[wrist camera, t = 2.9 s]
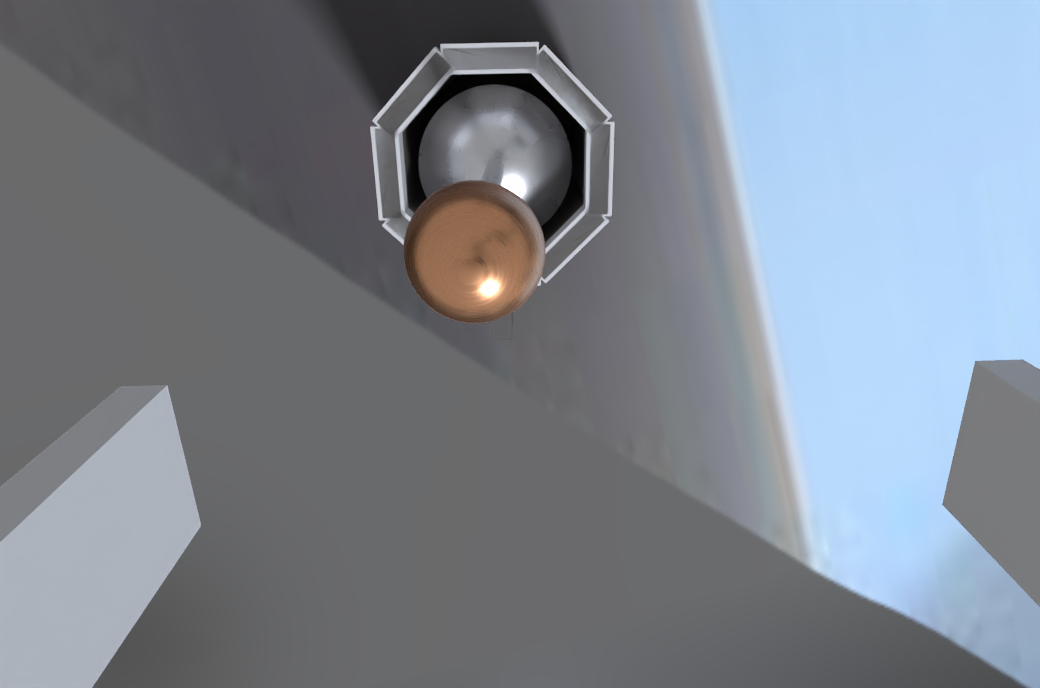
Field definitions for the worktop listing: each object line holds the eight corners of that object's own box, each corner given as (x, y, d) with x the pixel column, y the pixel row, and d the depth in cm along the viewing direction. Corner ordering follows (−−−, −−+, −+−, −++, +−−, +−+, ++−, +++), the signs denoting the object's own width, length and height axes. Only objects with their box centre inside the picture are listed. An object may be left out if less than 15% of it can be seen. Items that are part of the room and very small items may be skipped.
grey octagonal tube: (405, 47, 48) (362, 45, 35) (590, 43, 47) (616, 40, 34) (423, 279, 54) (391, 351, 41) (586, 276, 54) (607, 347, 41)
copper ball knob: (414, 85, 38) (301, 120, 18) (571, 82, 38) (624, 114, 18) (425, 239, 41) (339, 407, 22) (570, 236, 41) (614, 403, 22)
